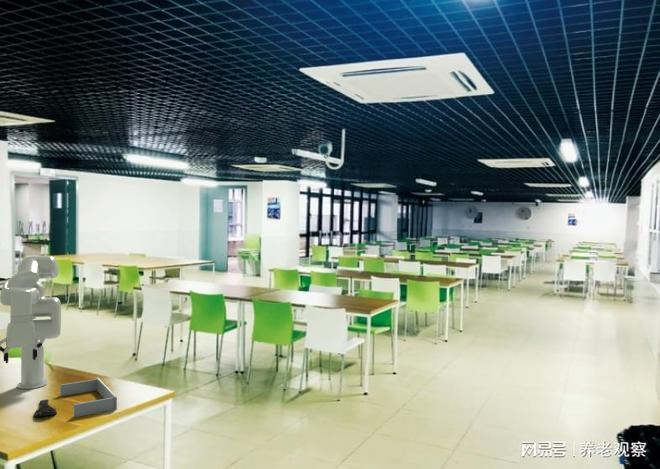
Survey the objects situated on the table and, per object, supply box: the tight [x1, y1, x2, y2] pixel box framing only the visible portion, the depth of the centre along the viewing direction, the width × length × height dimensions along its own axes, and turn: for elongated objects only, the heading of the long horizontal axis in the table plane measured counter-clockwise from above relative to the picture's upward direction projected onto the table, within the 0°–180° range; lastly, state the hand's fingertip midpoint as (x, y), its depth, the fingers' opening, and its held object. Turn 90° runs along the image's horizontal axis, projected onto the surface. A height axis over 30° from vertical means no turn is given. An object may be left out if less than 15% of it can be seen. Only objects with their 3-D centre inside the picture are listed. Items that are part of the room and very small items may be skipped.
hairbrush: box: [33, 399, 58, 418], centre depth 212 cm, size 8×4×25 cm
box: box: [59, 377, 118, 418], centre depth 222 cm, size 32×16×6 cm, turn 37°
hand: (20, 360), depth 207 cm, fingers open, 9 cm apart
